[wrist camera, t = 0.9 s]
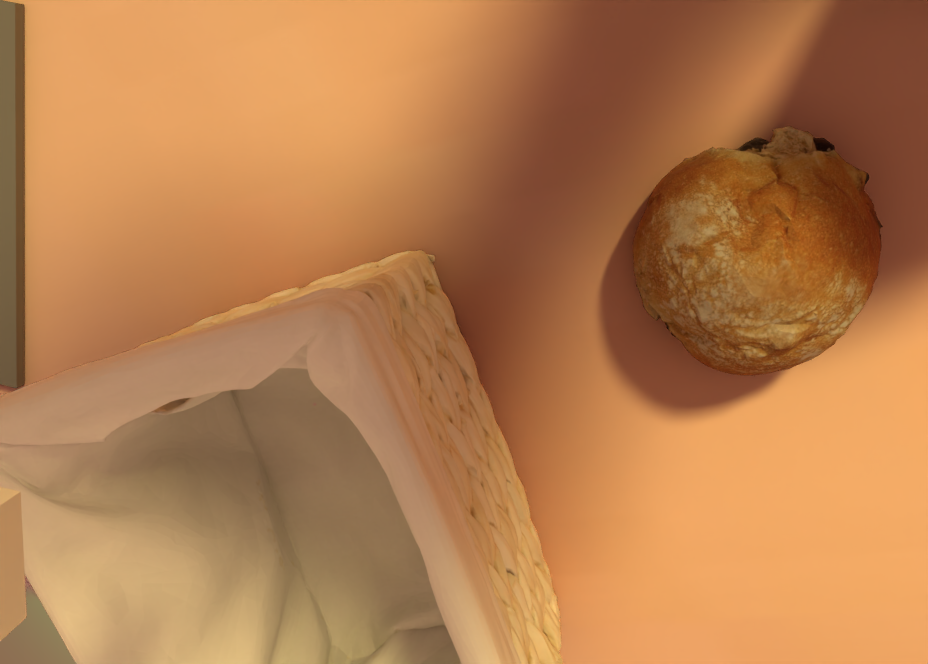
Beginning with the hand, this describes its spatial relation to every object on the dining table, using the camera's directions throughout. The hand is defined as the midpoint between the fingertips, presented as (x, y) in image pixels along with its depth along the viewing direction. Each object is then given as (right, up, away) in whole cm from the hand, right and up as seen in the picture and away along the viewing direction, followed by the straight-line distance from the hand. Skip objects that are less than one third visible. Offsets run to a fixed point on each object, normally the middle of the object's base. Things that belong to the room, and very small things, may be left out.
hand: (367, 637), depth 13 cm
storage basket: (-3, -2, +28) cm, 28 cm away
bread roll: (+14, +9, +21) cm, 27 cm away
